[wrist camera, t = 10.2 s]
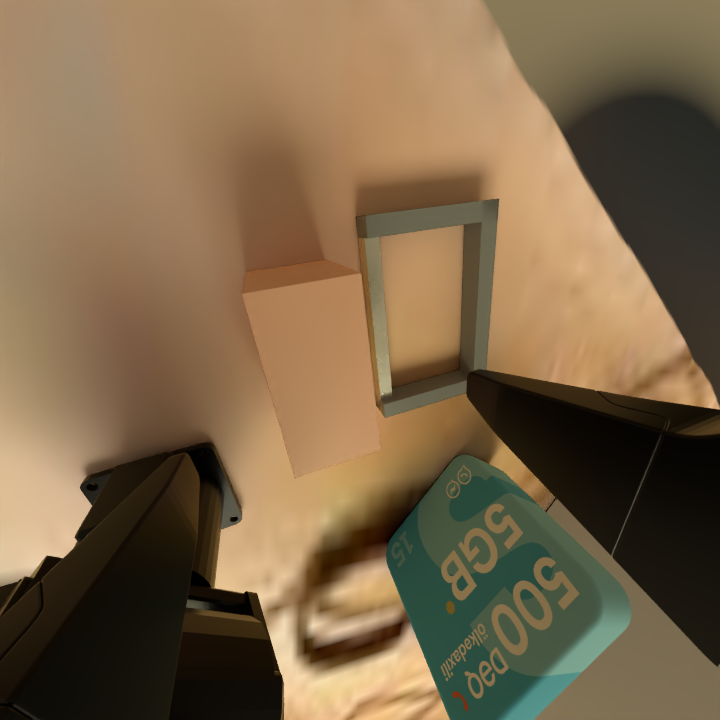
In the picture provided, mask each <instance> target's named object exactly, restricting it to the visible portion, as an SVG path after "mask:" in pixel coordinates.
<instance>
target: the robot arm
mask: <svg viewBox="0 0 720 720" xmlns="http://www.w3.org/2000/svg"><path fill="white" fill-rule="evenodd" d="M466 394H467V397H468V399H469V400H470V402H471V403H472V404H473V406H474V407H475V408H476V410H477V411H478V412H479V413H480V415H481V416H482V417H483V419H484V420H485V421H486V422H487V424H488V425H489V426H490V428H491V429H492V430H493V431H494V432H495V434H496V435H497V436H498V437H499V438H500V439H501V440H502V441H503V442H504V443H505V444H506V445H507V446H508V447H509V449H510V450H511V451H512V452H513V453H514V454H515V455H516V456H517V457H518V458H519V459H520V460H521V461H522V462H523V463H524V464H525V465H526V467H527V468H528V469H529V470H530V471H531V472H532V473H533V474H534V475H535V476H536V477H537V478H538V479H539V480H540V481H541V482H542V483H543V485H544V486H545V487H546V488H547V489H548V490H549V491H550V492H551V493H552V494H553V495H554V496H555V497H556V498H557V499H558V500H559V501H560V503H561V504H562V505H563V506H564V507H565V508H566V509H567V510H568V511H569V512H570V513H571V514H572V515H573V516H574V517H575V518H576V519H577V521H578V522H579V523H580V524H581V525H582V526H583V527H584V528H585V529H586V530H587V531H588V532H589V533H590V534H591V535H592V536H593V537H594V539H595V540H596V541H597V542H598V543H599V544H600V545H601V546H602V547H603V548H604V549H605V550H606V551H607V552H608V553H609V554H610V555H611V556H612V558H613V559H614V560H615V561H616V562H617V563H618V564H619V565H620V566H621V567H622V568H623V570H624V571H625V572H626V573H627V574H628V575H629V576H630V577H631V578H632V579H633V580H634V581H635V582H636V583H637V584H638V585H639V587H640V588H641V589H642V590H643V591H644V592H645V593H646V594H647V595H648V596H649V597H650V598H651V599H652V600H653V601H654V602H655V603H656V605H657V606H658V607H659V608H660V609H661V610H662V611H663V612H664V613H665V614H666V615H667V616H668V617H669V618H670V619H671V620H672V622H673V623H674V624H675V625H676V626H677V627H678V628H679V629H680V630H681V631H682V632H683V633H684V634H685V635H686V636H687V637H688V638H689V640H690V641H691V642H692V643H693V644H694V645H695V646H696V647H697V648H698V649H699V650H700V651H701V652H702V653H703V654H704V655H705V656H706V657H707V658H708V659H709V660H710V661H711V662H712V663H713V664H714V665H715V666H716V667H718V668H719V667H720V410H719V409H711V408H704V407H698V406H691V405H684V404H677V403H670V402H663V401H656V400H650V399H643V398H637V397H631V396H625V395H619V394H613V393H608V392H602V391H595V390H591V389H586V388H580V387H575V386H570V385H564V384H559V383H553V382H548V381H542V380H537V379H531V378H526V377H521V376H515V375H510V374H504V373H499V372H493V371H488V370H483V369H477V370H474V371H470V372H469V373H468V374H467V387H466ZM202 451H208V452H209V453H202ZM91 483H94V484H97V485H92V484H91ZM80 489H81V491H82V492H83V494H84V495H85V496H86V498H87V499H88V500H89V502H90V503H91V505H92V507H91V509H90V511H89V512H88V514H87V516H86V518H85V519H84V521H83V523H82V524H81V526H80V528H79V529H78V531H77V533H76V535H75V539H76V540H77V543H76V545H75V547H74V548H73V549H72V550H71V551H70V552H69V553H68V554H67V555H66V556H65V557H64V558H58V557H53V556H46V557H45V558H44V560H43V561H42V562H41V563H40V565H39V566H38V567H37V568H36V570H35V571H34V572H33V574H32V575H31V576H30V577H24V578H23V579H20V580H19V581H18V582H15V583H12V584H8V585H5V586H1V587H0V720H283V719H284V682H283V678H282V675H281V673H280V670H279V667H278V664H277V660H276V657H275V653H274V650H273V646H272V643H271V640H270V636H269V633H268V629H267V626H266V623H265V619H264V616H263V612H262V609H261V605H260V602H259V599H258V595H257V593H253V592H247V591H246V592H245V593H239V592H233V591H227V590H222V589H216V588H214V587H215V578H216V569H217V560H218V551H219V542H220V533H221V529H224V528H227V527H230V526H232V525H235V524H237V523H239V522H240V521H241V520H242V510H241V508H240V505H239V503H238V500H237V498H236V496H235V493H234V491H233V489H232V486H231V484H230V481H229V479H228V477H227V474H226V472H225V470H224V467H223V465H222V463H221V460H220V458H219V455H218V453H217V451H216V448H215V446H214V445H213V444H211V443H201V444H198V445H194V446H191V447H187V448H184V449H180V450H177V451H173V452H170V453H168V452H165V453H162V454H158V455H155V456H151V457H148V458H144V459H140V460H137V461H133V462H130V463H126V464H123V465H119V466H117V467H115V468H113V469H109V470H106V471H102V472H99V473H95V474H92V475H89V476H87V477H86V478H85V479H84V481H83V482H82V484H81V486H80ZM232 516H236V517H232Z"/></svg>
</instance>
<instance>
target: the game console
mask: <svg viewBox="0 0 720 720" xmlns="http://www.w3.org/2000/svg"><path fill="white" fill-rule="evenodd" d="M546 513H547V514H548V515H550V516H551V517H552V518H553V519H554V520H555V521H556V522H557V523H558V524H559V525H560V526H561V527H562V528H563V529H564V530H565V531H566V532H567V533H568V534H569V535H570V536H572V537H573V538H574V539H575V540H576V541H577V542H578V543H579V544H580V545H581V546H582V547H583V548H584V549H585V550H586V551H587V552H588V553H589V554H590V555H591V556H593V557H594V558H595V559H596V560H597V561H598V562H599V563H600V564H601V565H602V566H603V567H604V568H605V569H606V570H607V571H608V572H609V573H610V574H611V575H612V576H613V577H614V578H615V579H616V580H617V581H618V582H619V583H620V584H621V586H622V587H623V589H624V590H625V592H626V594H627V596H628V599H629V602H630V605H631V620H630V623H629V625H628V627H627V628H626V629H625V631H624V632H622V633H621V634H620V635H619V636H618V637H617V638H616V639H615V640H614V641H613V642H612V643H611V644H610V645H609V646H608V647H607V648H606V649H605V650H604V651H603V652H602V653H601V654H600V655H599V656H598V657H597V658H596V659H595V660H594V661H593V662H592V663H591V664H590V665H589V666H588V667H587V668H586V669H585V670H584V671H583V672H582V673H581V674H580V675H579V676H578V677H577V678H576V679H575V680H574V681H573V682H572V683H570V684H569V685H568V686H567V687H566V688H565V689H564V690H563V691H562V692H561V693H560V694H559V695H558V696H557V697H556V698H555V699H554V700H553V701H552V702H551V703H550V704H549V705H548V706H547V707H546V708H545V709H544V710H543V711H542V712H541V713H540V714H539V715H538V716H537V717H536V718H535V719H534V720H720V667H719V668H718V667H716V666H715V665H714V664H713V663H712V662H711V661H710V660H709V659H708V658H707V657H706V656H705V655H704V654H703V653H702V652H701V651H700V650H699V649H698V648H697V647H696V646H695V645H694V644H693V643H692V642H691V641H690V640H689V638H688V637H687V636H686V635H685V634H684V633H683V632H682V631H681V630H680V629H679V628H678V627H677V626H676V625H675V624H674V623H673V622H672V620H671V619H670V618H669V617H668V616H667V615H666V614H665V613H664V612H663V611H662V610H661V609H660V608H659V607H658V606H657V605H656V603H655V602H654V601H653V600H652V599H651V598H650V597H649V596H648V595H647V594H646V593H645V592H644V591H643V590H642V589H641V588H640V587H639V585H638V584H637V583H636V582H635V581H634V580H633V579H632V578H631V577H630V576H629V575H628V574H627V573H626V572H625V571H624V570H623V568H622V567H621V566H620V565H619V564H618V563H617V562H616V561H615V560H614V559H613V558H612V556H611V555H610V554H609V553H608V552H607V551H606V550H605V549H604V548H603V547H602V546H601V545H600V544H599V543H598V542H597V541H596V540H595V539H594V537H593V536H592V535H591V534H590V533H589V532H588V531H587V530H586V529H585V528H584V527H583V526H582V525H581V524H580V523H579V522H578V521H577V519H576V518H575V517H574V516H573V515H572V514H571V513H570V512H569V511H568V510H567V509H566V508H565V507H564V506H563V505H562V504H561V503H560V501H559V500H558V499H556V500H555V502H554V503H553V504H552V506H551V507H550V508H549V509H548V511H547V512H546Z"/></svg>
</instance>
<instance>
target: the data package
mask: <svg viewBox="0 0 720 720" xmlns="http://www.w3.org/2000/svg"><path fill="white" fill-rule="evenodd" d="M386 559H387V564H388V568H389V570H390V573H391V575H392V578H393V580H394V582H395V585H396V587H397V590H398V592H399V595H400V597H401V600H402V602H403V605H404V607H405V610H406V612H407V615H408V617H409V620H410V622H411V625H412V627H413V630H414V632H415V634H416V637H417V639H418V642H419V644H420V647H421V649H422V652H423V654H424V657H425V659H426V662H427V664H428V667H429V669H430V672H431V674H432V677H433V679H434V682H435V684H436V686H437V689H438V691H439V694H440V696H441V699H442V701H443V704H444V706H445V709H446V711H447V714H448V716H449V718H450V720H534V719H535V718H536V717H537V716H538V715H539V714H540V713H541V712H542V711H543V710H544V709H545V708H546V707H547V706H548V705H549V704H550V703H551V702H552V701H553V700H554V699H555V698H556V697H557V696H558V695H559V694H560V693H561V692H562V691H563V690H564V689H565V688H566V687H567V686H568V685H569V684H570V683H572V682H573V681H574V680H575V679H576V678H577V677H578V676H579V675H580V674H581V673H582V672H583V671H584V670H585V669H586V668H587V667H588V666H589V665H590V664H591V663H592V662H593V661H594V660H595V659H596V658H597V657H598V656H599V655H600V654H601V653H602V652H603V651H604V650H605V649H606V648H607V647H608V646H609V645H610V644H611V643H612V642H613V641H614V640H615V639H616V638H617V637H618V636H619V635H620V634H621V633H622V632H624V631H625V629H626V628H627V627H628V625H629V623H630V620H631V605H630V602H629V599H628V596H627V594H626V592H625V590H624V589H623V587H622V586H621V584H620V583H619V582H618V581H617V580H616V579H615V578H614V577H613V576H612V575H611V574H610V573H609V572H608V571H607V570H606V569H605V568H604V567H603V566H602V565H601V564H600V563H599V562H598V561H597V560H596V559H595V558H594V557H593V556H591V555H590V554H589V553H588V552H587V551H586V550H585V549H584V548H583V547H582V546H581V545H580V544H579V543H578V542H577V541H576V540H575V539H574V538H573V537H572V536H570V535H569V534H568V533H567V532H566V531H565V530H564V529H563V528H562V527H561V526H560V525H559V524H558V523H557V522H556V521H555V520H554V519H553V518H552V517H551V516H550V515H548V514H547V513H546V512H545V511H544V510H543V509H542V508H541V507H540V506H539V505H538V504H537V503H536V502H535V501H534V500H533V499H532V498H531V497H530V496H529V495H527V494H526V493H525V492H524V491H523V490H522V489H521V488H520V487H519V486H518V485H517V484H516V483H515V482H514V481H513V480H512V479H511V478H510V477H509V476H508V475H507V474H505V473H504V472H503V471H501V470H500V469H498V468H496V467H494V466H492V465H490V464H487V463H485V462H483V461H481V460H479V459H477V458H475V457H473V456H471V455H460V456H458V457H456V458H455V459H453V460H452V462H451V463H450V464H449V465H448V467H447V468H446V469H445V470H444V472H443V473H442V474H441V475H440V477H439V478H438V479H437V480H436V482H435V483H434V484H433V485H432V487H431V488H430V489H429V491H428V492H427V493H426V494H425V496H424V497H423V498H422V499H421V501H420V502H419V503H418V504H417V506H416V507H415V508H414V509H413V511H412V512H411V513H410V514H409V516H408V517H407V518H406V519H405V521H404V522H403V523H402V525H401V526H400V527H399V528H398V530H397V531H396V532H395V533H394V535H393V536H392V537H391V539H390V541H389V543H388V546H387V552H386Z"/></svg>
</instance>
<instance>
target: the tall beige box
mask: <svg viewBox="0 0 720 720" xmlns="http://www.w3.org/2000/svg"><path fill="white" fill-rule="evenodd" d="M242 297H243V300H244V304H245V307H246V311H247V314H248V318H249V321H250V324H251V328H252V331H253V335H254V338H255V342H256V345H257V349H258V352H259V356H260V359H261V363H262V366H263V370H264V373H265V376H266V380H267V383H268V387H269V390H270V394H271V397H272V401H273V404H274V408H275V411H276V415H277V418H278V422H279V425H280V428H281V432H282V435H283V439H284V442H285V446H286V449H287V453H288V456H289V460H290V463H291V467H292V470H293V474H294V477H295V478H297V477H300V476H303V475H306V474H309V473H312V472H315V471H318V470H321V469H324V468H327V467H330V466H333V465H336V464H339V463H342V462H345V461H348V460H351V459H354V458H357V457H360V456H363V455H366V454H369V453H372V452H375V451H378V450H381V448H380V439H379V430H378V421H377V412H376V403H375V394H374V385H373V376H372V367H371V358H370V349H369V340H368V331H367V322H366V312H365V303H364V294H363V285H362V276H361V273H359V272H357V271H354V270H351V269H349V268H346V267H343V266H341V265H338V264H335V263H333V262H330V261H327V260H320V261H313V262H307V263H301V264H294V265H288V266H282V267H275V268H269V269H263V270H256V271H250V272H246V274H245V279H244V285H243V290H242Z"/></svg>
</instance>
